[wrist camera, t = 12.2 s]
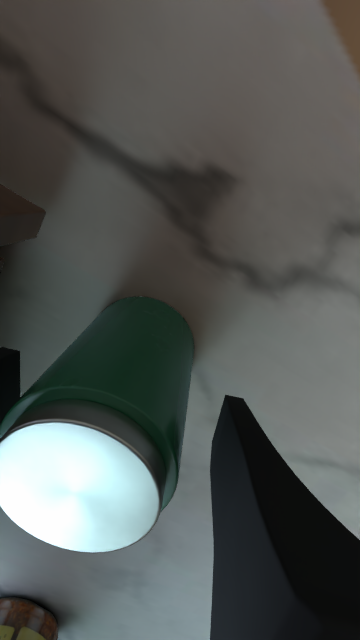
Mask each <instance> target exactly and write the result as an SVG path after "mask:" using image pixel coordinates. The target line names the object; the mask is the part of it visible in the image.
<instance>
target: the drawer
mask: <svg viewBox="0 0 360 640" xmlns="http://www.w3.org/2000/svg"><path fill="white" fill-rule="evenodd" d="M45 214H46V211H45V210H44V209H42V208H40V207H39V206H37V205H35V204H34V203H32V202H30V201H29V200H27V199H25V198H23V197H22V196H20V195H18V194H17V193H15V192H13V191H12V190H10V189H8V188H6V187H5V186H3V185H1V184H0V246H4V245H8V244H12V243H16V242H20V241H25V240H29V239H33V238H36V237H37V234H38V232H39V229H40V227H41V224H42V221H43V219H44V216H45ZM3 264H4V259H3V258H1V257H0V272H1V269H2V266H3Z"/></svg>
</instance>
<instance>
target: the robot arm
mask: <svg viewBox="0 0 360 640" xmlns="http://www.w3.org/2000/svg"><path fill="white" fill-rule="evenodd" d="M19 399H20V351H18V350H13V349H8V348H4V347H2V348H0V424H1V422H2V420H3V418H4V416H5V415H6V413H7V412H8V411H9V409H10V408H11V407H12V406H13V405H14V404H15V403H16V402H17V401H18V400H19ZM210 477H211V498H212V517H213V536H214V564H213V590H212V611H211V632H210V640H360V540H359V539H358V538H357V537H356V536H355V535H353V534H352V533H351V532H350V531H349V530H348V529H347V528H346V527H345V526H344V525H343V524H342V523H341V522H340V521H339V520H337V519H336V518H335V517H334V516H333V515H332V514H331V513H330V512H329V511H328V510H327V509H326V508H325V507H324V506H323V505H322V504H321V503H320V502H319V501H318V499H317V498H316V497H315V496H314V495H313V494H312V493H311V492H310V491H309V490H308V489H307V487H306V486H305V485H304V484H303V483H302V482H301V481H300V479H299V478H298V477H297V476H296V475H295V474H294V472H293V471H292V470H291V469H290V467H289V466H288V465H287V464H286V462H285V461H284V460H283V458H282V457H281V456H280V454H279V453H278V452H277V450H276V449H275V448H274V446H273V445H272V443H271V442H270V440H269V439H268V437H267V436H266V434H265V433H264V431H263V430H262V428H261V427H260V425H259V423H258V422H257V420H256V419H255V417H254V415H253V414H252V412H251V410H250V409H249V407H248V406H247V404H246V402H245V401H244V399H243V398H238V397H234V396H229V395H225V398H224V401H223V405H222V408H221V412H220V415H219V419H218V423H217V426H216V430H215V433H214V437H213V440H212V450H211V465H210Z"/></svg>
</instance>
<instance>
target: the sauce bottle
mask: <svg viewBox="0 0 360 640" xmlns="http://www.w3.org/2000/svg"><path fill="white" fill-rule="evenodd" d="M57 638H58V626H57V621H56V620H55V618H54V617H53V615H52V613H51V612H49V611H47V610H45V609H43V608H41V607H40V606H38V605H36V604H35V603H34V602H32V601H30V600H26V599H21V598H14V597H11V598H10V597H4V598H0V640H57Z"/></svg>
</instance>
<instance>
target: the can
mask: <svg viewBox="0 0 360 640" xmlns="http://www.w3.org/2000/svg"><path fill="white" fill-rule="evenodd" d="M193 356H194V340H193V336H192V333H191V330H190V328H189V326H188V324H187V322H186V321H185V320H184V318H183V317H182V316H181V315H180V314H179V313H178V312H177V311H176V310H175V309H174V308H172V307H171V306H169V305H168V304H166V303H164V302H162V301H159V300H156V299H153V298H148V297H129V298H124V299H121V300H118V301H116V302H114V303H112V304H111V305H110V306H108V307H107V308H106V309H105V310H104V311H103V312H102V313H101V314H100V315H99V316H98V317H97V318H96V319H95V320H94V321H93V322H92V323H91V324H90V325H89V326H88V327H87V328H86V329H85V330H84V332H83V333H82V334H81V335H80V336H79V337H78V338H77V339H76V340H75V341H74V342H73V343H72V344H71V345H70V346H69V347H68V348H67V349H66V350H65V351H64V352H63V354H62V355H61V356H60V357H59V358H58V359H57V360H56V361H55V362H54V363H53V364H52V365H51V366H50V367H49V368H48V369H47V370H46V371H45V372H44V373H43V375H42V376H41V377H40V378H39V379H38V380H37V381H36V382H35V383H34V384H33V385H32V386H31V387H30V388H29V389H28V390H27V391H26V392H25V393H24V394H23V395H22V397H21V398H20V399H19V400H18V401H17V402H16V403H15V404H14V405H13V406H12V407H11V408H10V409H9V411H8V412H7V413H6V415H5V416H4V418H3V420H2V422H1V424H0V507H1V508H2V509H3V511H4V512H5V513H6V514H7V515H8V516H9V517H10V519H12V520H13V521H14V522H15V523H16V524H17V525H18V526H20V527H21V528H22V529H24V530H25V531H26V532H28V533H30V534H31V535H33V536H34V537H36V538H38V539H40V540H42V541H44V542H47V543H49V544H51V545H54V546H57V547H60V548H63V549H68V550H72V551H78V552H88V553H101V552H110V551H115V550H119V549H123V548H125V547H128V546H130V545H133V544H134V543H136V542H138V541H139V540H141V539H142V538H143V537H145V536H146V535H147V534H148V533H149V532H150V531H151V529H152V528H153V526H154V525H155V523H156V522H157V520H158V518H159V515H160V512H161V511H162V510H163V509H164V508H165V507H166V506H167V505H168V503H169V502H170V500H171V499H172V497H173V495H174V492H175V490H176V487H177V483H178V477H179V469H180V461H181V453H182V445H183V436H184V428H185V420H186V412H187V404H188V396H189V388H190V380H191V372H192V364H193Z"/></svg>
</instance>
